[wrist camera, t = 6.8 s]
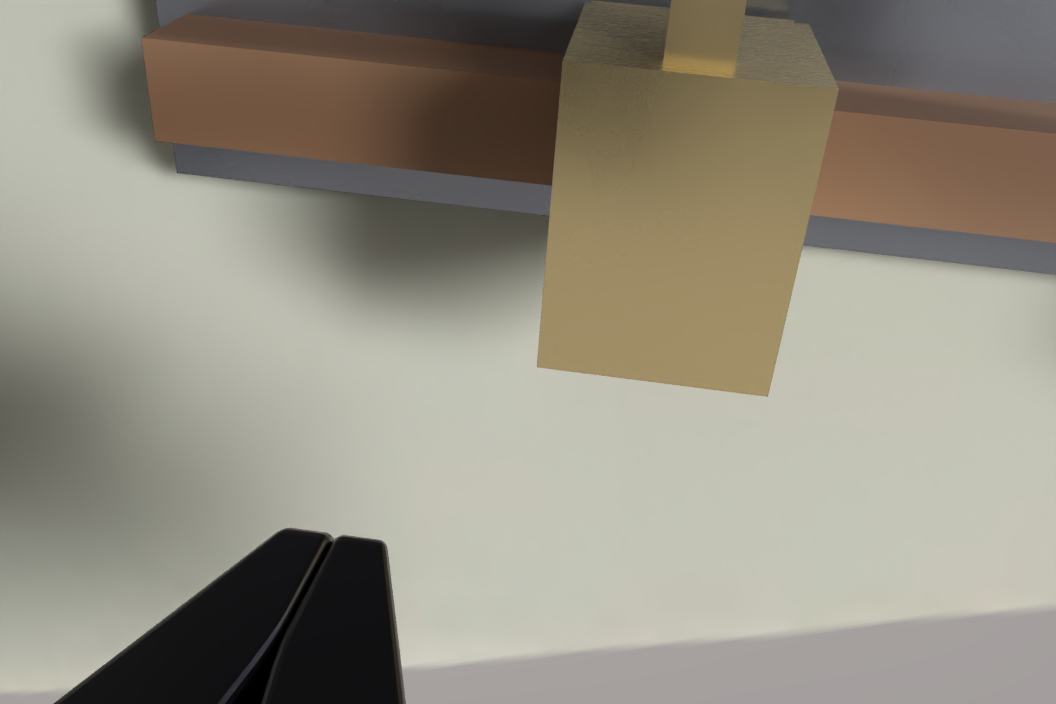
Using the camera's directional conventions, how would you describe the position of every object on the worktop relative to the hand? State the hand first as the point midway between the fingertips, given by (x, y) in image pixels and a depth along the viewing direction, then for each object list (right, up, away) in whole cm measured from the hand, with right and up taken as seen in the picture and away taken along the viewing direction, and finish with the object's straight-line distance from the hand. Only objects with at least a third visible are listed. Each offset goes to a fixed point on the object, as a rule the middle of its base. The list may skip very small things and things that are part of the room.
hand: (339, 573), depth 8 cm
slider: (+4, +7, +7) cm, 10 cm away
